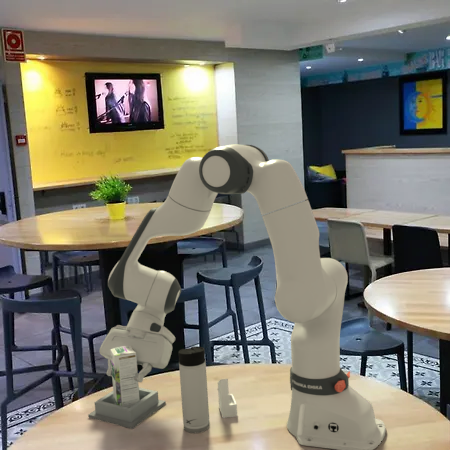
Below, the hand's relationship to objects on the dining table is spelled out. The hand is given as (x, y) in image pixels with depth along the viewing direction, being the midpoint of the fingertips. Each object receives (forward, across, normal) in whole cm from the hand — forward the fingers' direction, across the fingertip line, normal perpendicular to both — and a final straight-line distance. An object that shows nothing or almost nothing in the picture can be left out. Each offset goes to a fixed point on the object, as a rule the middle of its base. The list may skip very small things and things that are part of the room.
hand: (123, 378), depth 150 cm
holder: (+6, 0, +7) cm, 9 cm away
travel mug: (+6, +21, +7) cm, 23 cm away
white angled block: (-1, +24, +14) cm, 28 cm away
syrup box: (+5, 0, +6) cm, 7 cm away
